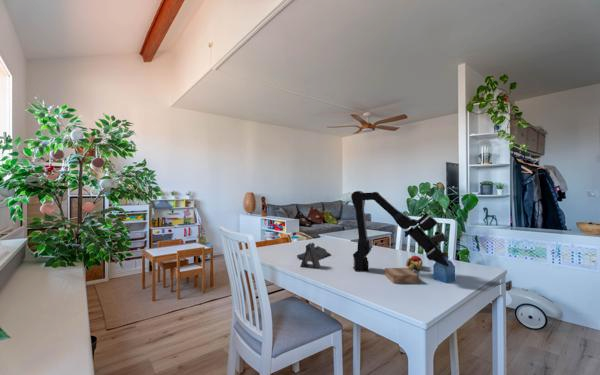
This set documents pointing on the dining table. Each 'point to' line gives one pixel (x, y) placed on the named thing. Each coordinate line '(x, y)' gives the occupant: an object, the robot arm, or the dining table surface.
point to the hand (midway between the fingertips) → (447, 264)
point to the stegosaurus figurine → (320, 254)
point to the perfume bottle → (444, 270)
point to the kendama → (414, 263)
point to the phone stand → (311, 251)
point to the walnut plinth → (401, 275)
